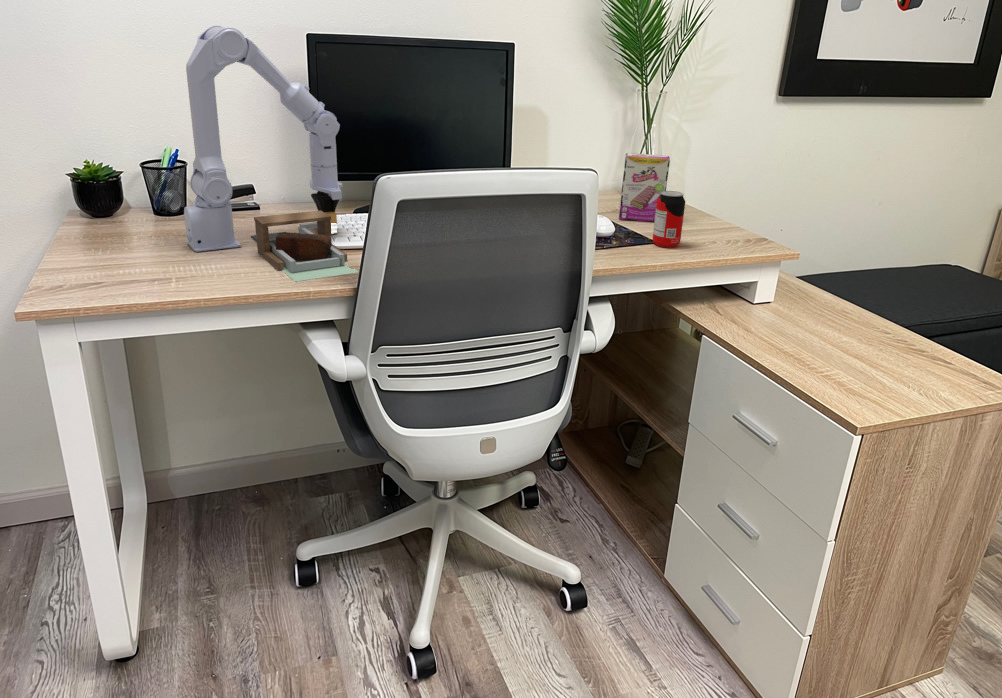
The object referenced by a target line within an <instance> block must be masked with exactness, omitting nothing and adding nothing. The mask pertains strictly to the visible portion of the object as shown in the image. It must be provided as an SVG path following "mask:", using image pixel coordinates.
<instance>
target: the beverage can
mask: <svg viewBox="0 0 1002 698" xmlns="http://www.w3.org/2000/svg"><path fill="white" fill-rule="evenodd" d="M685 209H686V200H685V197H684V193H683V192H681V191H675V190H666V191H662V192H661V194H660V196H659V197H658V199H657V204H656V213H655V222H653V223H654V224H653V231H652V241H653V243H654V244H655V245H656V246H657V247H660V248H668V249H669V248H670V249H671V248H676V247H677V246H678V245H679V244H680V243H681V240H682V231H683V223H684V216H685Z"/></svg>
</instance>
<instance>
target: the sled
mask: <svg viewBox="0 0 1002 698" xmlns="http://www.w3.org/2000/svg"><path fill="white" fill-rule="evenodd" d="M325 213H326V214H328V215H329V216H331V220H330V221H331V223H337V224H338V217H337V216H338V215H337V212H336V211H335V212H325ZM298 224H299V226H298V227H297V228H298V233H301V234H314V233H313V232H312V231H311V230H309V229H317V221H316V222H307V223H298ZM269 243H270V252H272V253H273V254H274V255H275V256H276V257H278V258H279V259H280V260H281V261H282V262H284V267H285V268H287V269H288V270H289V271H290V272H291V273H292V272H299V271H306V270H313V269H320V268H327V267H335V266H342V265H345V262H346V261H345V258H344V254H343V253H341V252H340V251H338V250H337V249H335V248H334V247H333V246H331V248H330V256H329V257H328V259H321V260H306V261H301V262H300V261H299V262H296V259H292V258H291V257H290V256H289V255H287V254H286V253H285V252H284V251H282V250H276V239H269Z"/></svg>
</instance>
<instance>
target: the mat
mask: <svg viewBox="0 0 1002 698" xmlns="http://www.w3.org/2000/svg"><path fill="white" fill-rule="evenodd" d="M346 263H347V262H346ZM346 263H345V265H342V266H335V267H327V268H320V269H313V270H306V271H299V272H292V273H291V272H290V271H289V270H288V269H287V268H285V267H284V270H281V271H282V272H283V273H284V274H285V275H286V274H287V277H288V278H290V279H291V280H292V281H293V282H295V283H297V282H298V281H299V282H304V281H311V279H312V280H318V279H325V278H333V277H337V276H339V277H340V276H346V275H352V274H358V271H359V270H358V269H356V268H354V269H351V268H349V266H348V267H347V265H348V264H349V263H347V265H346Z"/></svg>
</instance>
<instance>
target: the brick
mask: <svg viewBox="0 0 1002 698" xmlns="http://www.w3.org/2000/svg"><path fill="white" fill-rule="evenodd" d="M281 232H282V233H279V234H278V235H277V237H276V250H282V251H284V252H285V253H286V254H287V255H289V256H290V257H291V258H292V259H294V260H309V261H313V260H321V259H328V258H329V256H330V248H331V241H330V239H329V237H328V236H327V235H322V234H318V233H317V234H316V233H313V234H301V233H299V232H290V231H288V232H287V231H281Z"/></svg>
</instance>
